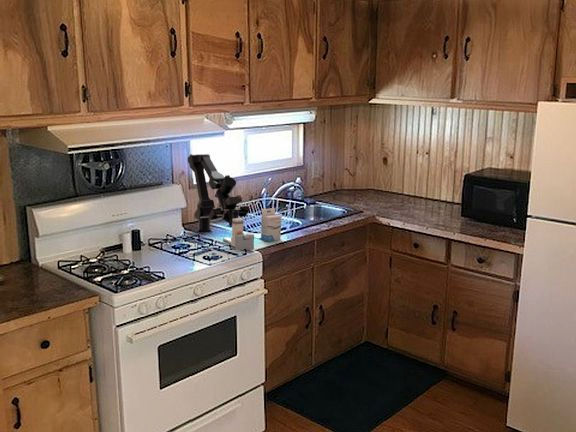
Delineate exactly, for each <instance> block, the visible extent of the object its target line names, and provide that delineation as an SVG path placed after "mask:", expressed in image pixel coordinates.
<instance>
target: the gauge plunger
mask: <svg viewBox="0 0 576 432" xmlns="http://www.w3.org/2000/svg"><path fill="white" fill-rule="evenodd" d="M246 234H247V233H245V232H243V233H242V232H241V231H238V232H237V235H243V236H244V237H243V238H244V239H247V240H249V238H250V236H249V235H246Z"/></svg>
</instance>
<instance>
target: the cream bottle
mask: <svg viewBox="0 0 576 432" xmlns="http://www.w3.org/2000/svg"><path fill="white" fill-rule="evenodd" d="M244 223H245V221H244V219H243V217H242V218H241V217H237V218H234V219H232V226H231V227H232V228H231V244H230V246H231V247H234V248H235V235H237V232H238V231H241V232H242V233H244Z"/></svg>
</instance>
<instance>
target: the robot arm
mask: <svg viewBox="0 0 576 432" xmlns="http://www.w3.org/2000/svg"><path fill="white" fill-rule="evenodd" d="M187 163H188V165H189V168H190V169H191V170H192V172H193V174H194V178H195V183H196V189H197V194H198V200H199V201H198V203H197V205H196V206H197V208H196V210H195V212H194V215H193V216H194V219H196V220H198V227H197V232H204V233H205V232H212V228H211V220H217V219H218V216H222V217H221V220H222V221H225V222H227V223H228V224H229V225H230V226H231V227H232V219H234V218H241V217H242V218H243V217H244V218H245V217H247V216H248V214H249V212H250V211H251V208H250V206H249V205H240V206H239V208H237V205H239V204H240V203H242V202H243V198H242V195H241V194H238V195H236V196H231V195H230V194H231V193H232V192H233V191H234V189H235V187H236V186H237V181H236V180H235V179H234V177H231V176H230V175H229V174H227V175H225V176H224V175H223V174H222V173H221V172H219V171H218V169H217V167H216V166H215V164H214V163H213V161H212V159H211V155H210V153H209V154H208V153H190V154H189V156H188V157H187ZM205 172H206V175H207V176H208V178H209V179H208V183H209V188H210V189H212V190H216V191H215V194H214V198H217V200H218V202H219V204H218V207H216V206H215V201H214V200H213V199H211V198H210V196H209V191H208V185H207V179H206V175H205Z"/></svg>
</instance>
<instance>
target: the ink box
mask: <svg viewBox="0 0 576 432" xmlns="http://www.w3.org/2000/svg"><path fill="white" fill-rule="evenodd" d="M260 223H261V226H260V227H261V229H260V240H261V241H264V242H272V241H273V242H274V241H279V240H281V236H282V235H281V234H282V233H281V232H282V215H280V214H276V207H272V208H271V207H270V208H264V209H262V210H261V222H260Z"/></svg>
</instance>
